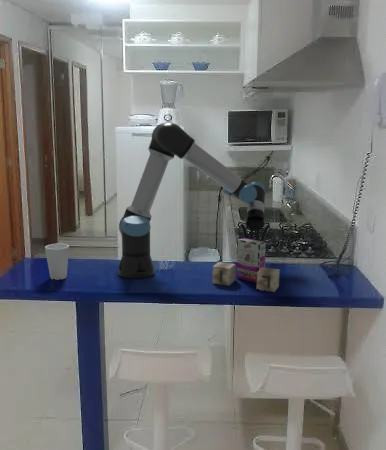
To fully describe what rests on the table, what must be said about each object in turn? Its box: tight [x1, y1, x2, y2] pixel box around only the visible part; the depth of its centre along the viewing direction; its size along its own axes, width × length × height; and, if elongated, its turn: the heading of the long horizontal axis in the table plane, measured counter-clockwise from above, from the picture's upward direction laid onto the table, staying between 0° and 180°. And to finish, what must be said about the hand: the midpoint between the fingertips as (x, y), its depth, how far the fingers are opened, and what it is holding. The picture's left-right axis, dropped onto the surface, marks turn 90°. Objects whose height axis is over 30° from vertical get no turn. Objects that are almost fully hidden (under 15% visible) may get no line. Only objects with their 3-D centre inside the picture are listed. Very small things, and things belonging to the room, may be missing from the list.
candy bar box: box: [235, 237, 267, 284], centre depth 197 cm, size 11×5×16 cm, turn 47°
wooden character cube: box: [212, 261, 236, 286], centre depth 195 cm, size 7×7×7 cm
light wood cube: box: [256, 267, 280, 293], centre depth 188 cm, size 7×7×7 cm
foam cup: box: [44, 243, 70, 281], centre depth 197 cm, size 10×9×13 cm
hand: (253, 259), depth 205 cm, fingers closed
